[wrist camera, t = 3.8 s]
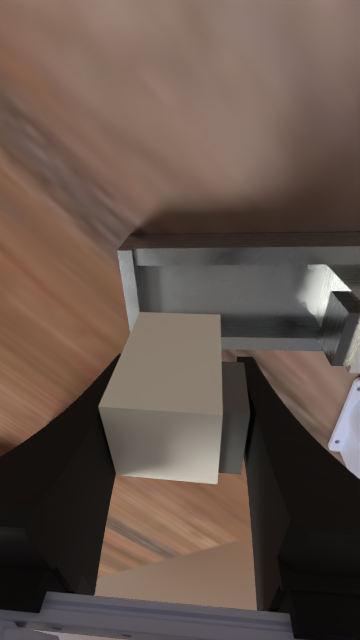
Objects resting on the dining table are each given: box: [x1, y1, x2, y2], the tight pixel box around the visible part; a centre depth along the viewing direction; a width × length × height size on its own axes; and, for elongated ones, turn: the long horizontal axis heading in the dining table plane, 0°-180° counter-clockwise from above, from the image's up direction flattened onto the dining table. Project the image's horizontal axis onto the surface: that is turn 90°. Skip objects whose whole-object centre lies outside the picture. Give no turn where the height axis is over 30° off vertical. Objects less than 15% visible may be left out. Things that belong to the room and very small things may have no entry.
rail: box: [117, 232, 360, 373], centre depth 17 cm, size 7×16×7 cm, turn 92°
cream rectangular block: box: [98, 312, 250, 484], centre depth 11 cm, size 4×4×5 cm
